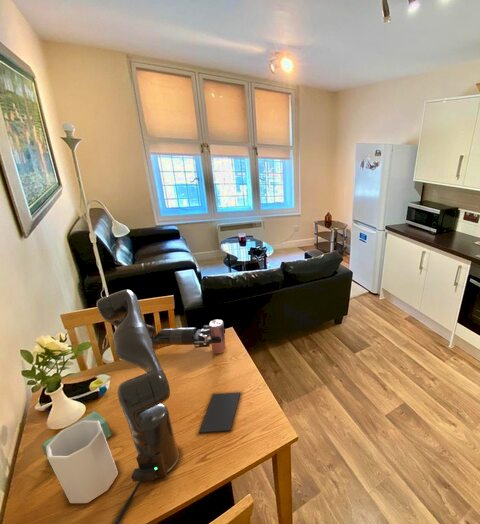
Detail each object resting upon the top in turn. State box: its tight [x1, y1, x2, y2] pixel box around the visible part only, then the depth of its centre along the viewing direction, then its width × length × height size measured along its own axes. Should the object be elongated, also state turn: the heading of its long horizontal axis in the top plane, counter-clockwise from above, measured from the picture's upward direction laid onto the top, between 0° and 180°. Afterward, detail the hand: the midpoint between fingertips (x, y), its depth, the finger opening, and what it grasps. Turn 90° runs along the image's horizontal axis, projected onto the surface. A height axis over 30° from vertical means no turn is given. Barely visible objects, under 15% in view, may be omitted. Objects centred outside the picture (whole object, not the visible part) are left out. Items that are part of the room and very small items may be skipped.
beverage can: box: [208, 319, 227, 354], centre depth 132 cm, size 6×6×15 cm
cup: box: [46, 421, 119, 504], centre depth 78 cm, size 11×11×18 cm
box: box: [41, 410, 113, 458], centre depth 89 cm, size 7×14×8 cm, turn 153°
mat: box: [199, 392, 241, 434], centre depth 105 cm, size 16×10×1 cm, turn 8°
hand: (223, 335), depth 132 cm, fingers closed on beverage can, 6 cm apart
